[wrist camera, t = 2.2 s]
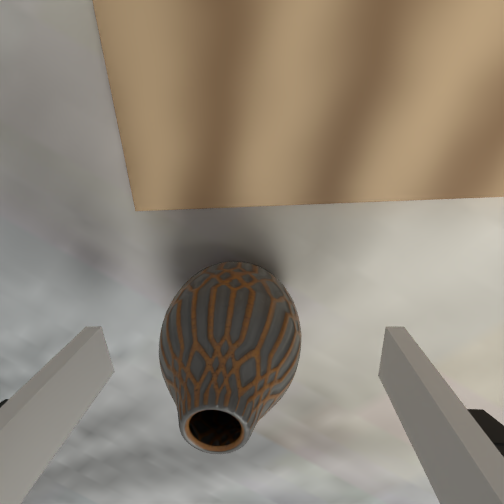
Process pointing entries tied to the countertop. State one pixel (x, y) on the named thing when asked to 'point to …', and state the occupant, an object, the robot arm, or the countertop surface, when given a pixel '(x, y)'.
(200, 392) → the vase
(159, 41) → the board
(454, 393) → the robot arm
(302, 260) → the countertop surface
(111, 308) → the countertop surface
